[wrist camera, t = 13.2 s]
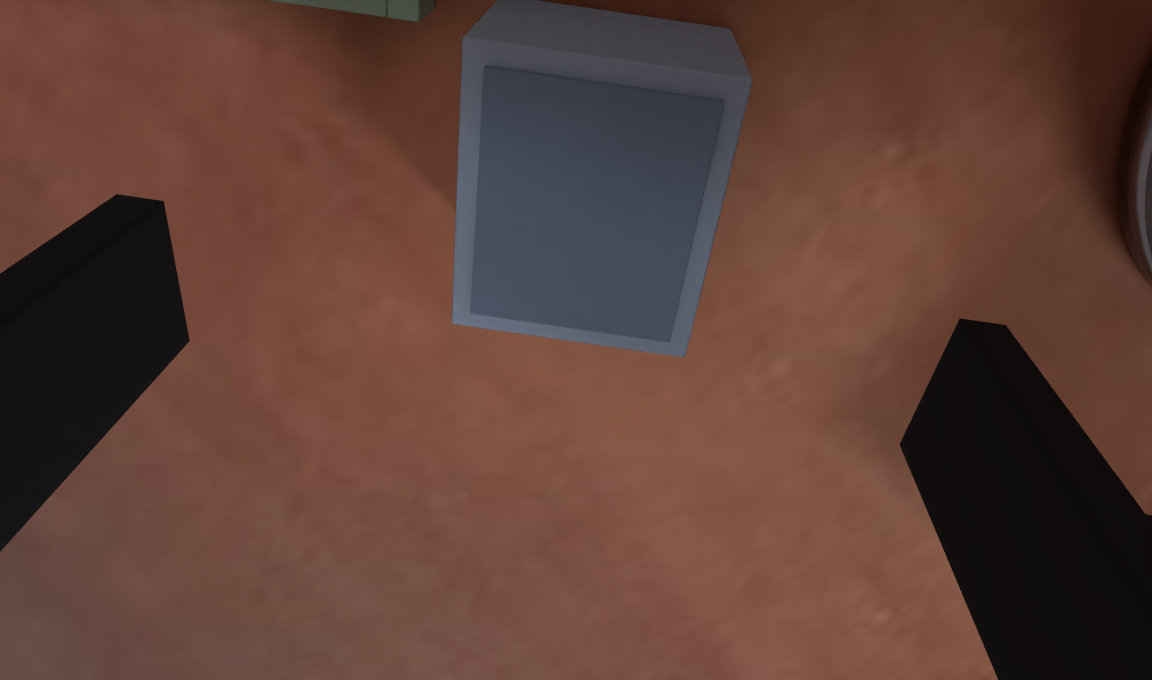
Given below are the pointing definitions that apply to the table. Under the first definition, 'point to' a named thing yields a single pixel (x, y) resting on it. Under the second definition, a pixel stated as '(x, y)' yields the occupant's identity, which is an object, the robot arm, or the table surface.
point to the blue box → (592, 172)
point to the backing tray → (375, 7)
